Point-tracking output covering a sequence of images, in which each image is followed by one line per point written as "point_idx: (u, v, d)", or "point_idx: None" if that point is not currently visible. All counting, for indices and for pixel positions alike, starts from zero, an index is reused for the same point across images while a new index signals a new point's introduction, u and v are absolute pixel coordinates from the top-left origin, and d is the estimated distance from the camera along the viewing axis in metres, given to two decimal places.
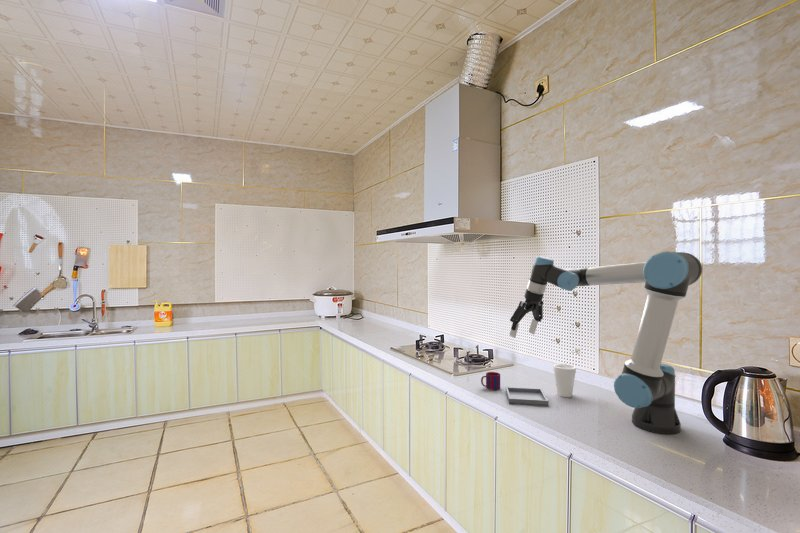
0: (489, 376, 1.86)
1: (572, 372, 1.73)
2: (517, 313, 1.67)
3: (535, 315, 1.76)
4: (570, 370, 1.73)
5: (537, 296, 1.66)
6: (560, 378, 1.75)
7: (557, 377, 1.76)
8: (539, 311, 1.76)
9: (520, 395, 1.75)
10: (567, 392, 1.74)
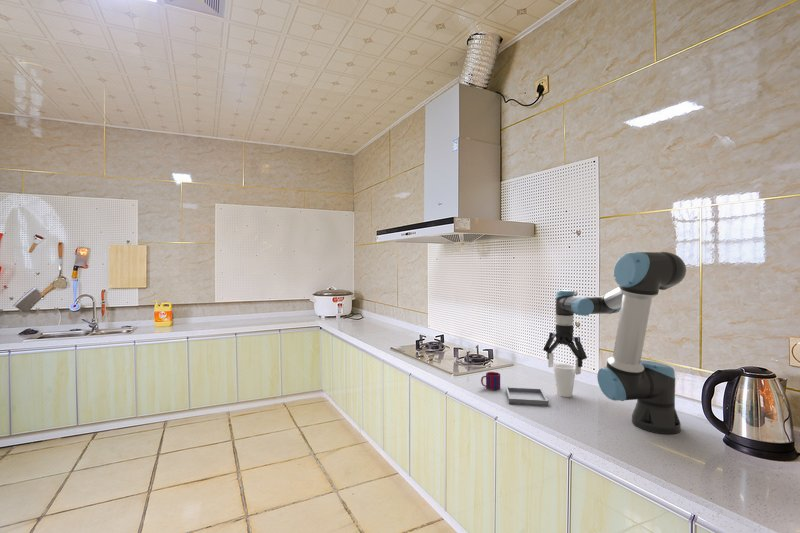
0: (489, 376, 1.86)
1: (572, 372, 1.73)
2: None
3: None
4: (570, 370, 1.73)
5: (556, 326, 1.78)
6: (560, 378, 1.75)
7: (557, 377, 1.76)
8: None
9: (520, 395, 1.75)
10: (567, 392, 1.74)
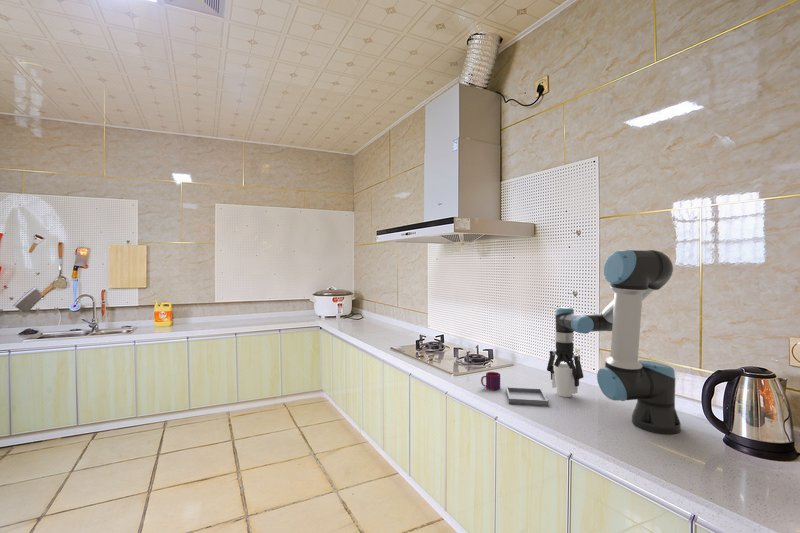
0: (489, 376, 1.86)
1: None
2: None
3: None
4: (570, 370, 1.73)
5: (556, 343, 1.78)
6: (560, 378, 1.75)
7: (557, 377, 1.76)
8: None
9: (520, 395, 1.75)
10: (567, 392, 1.74)
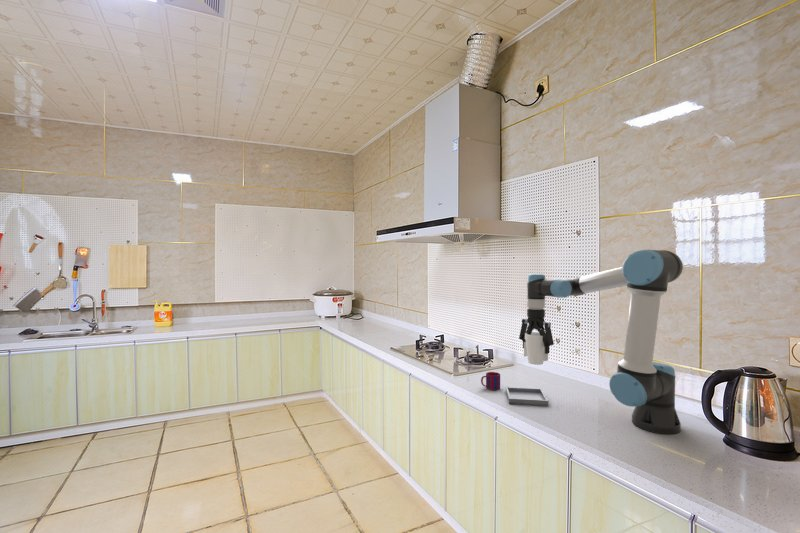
0: (489, 376, 1.86)
1: None
2: None
3: None
4: (540, 337, 1.70)
5: (527, 311, 1.74)
6: (531, 345, 1.72)
7: (528, 344, 1.73)
8: None
9: (520, 395, 1.75)
10: (537, 359, 1.71)
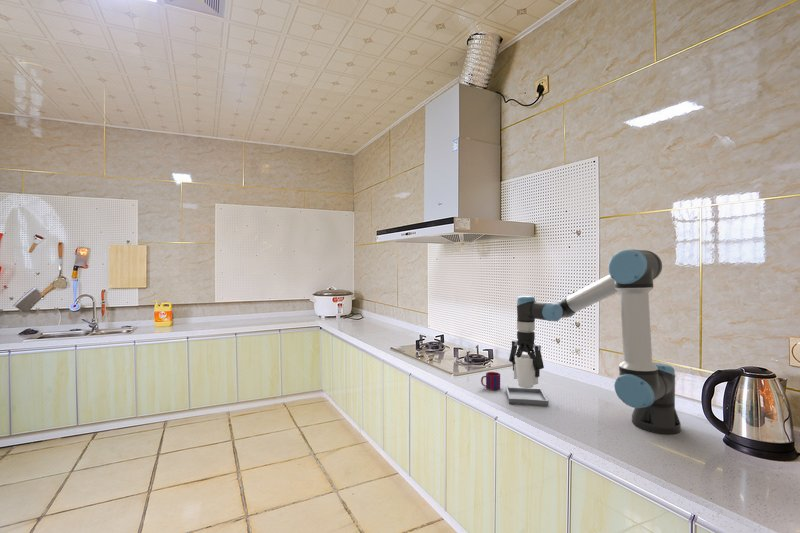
0: (489, 376, 1.86)
1: None
2: None
3: None
4: (530, 360, 1.68)
5: (517, 333, 1.73)
6: (521, 368, 1.70)
7: (518, 368, 1.72)
8: None
9: (520, 395, 1.75)
10: (527, 383, 1.70)
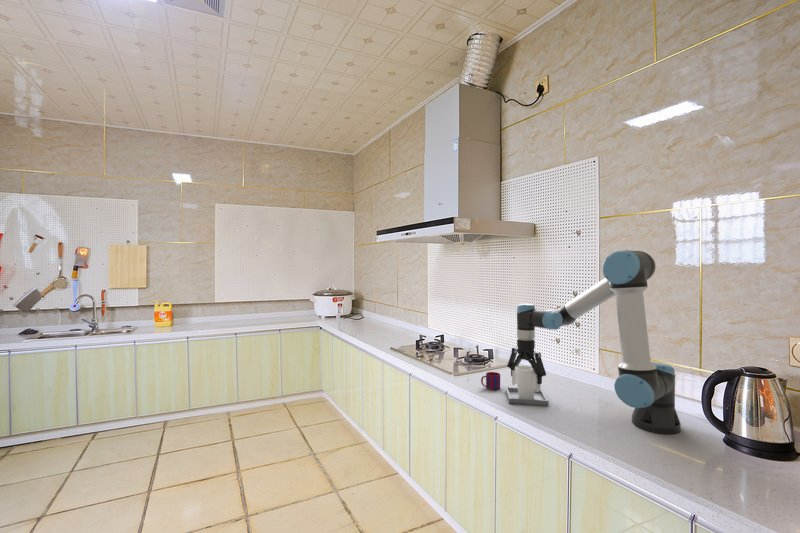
0: (489, 376, 1.86)
1: (533, 373, 1.69)
2: None
3: None
4: (530, 371, 1.68)
5: (517, 341, 1.73)
6: (521, 380, 1.70)
7: (518, 379, 1.71)
8: None
9: None
10: (528, 394, 1.70)
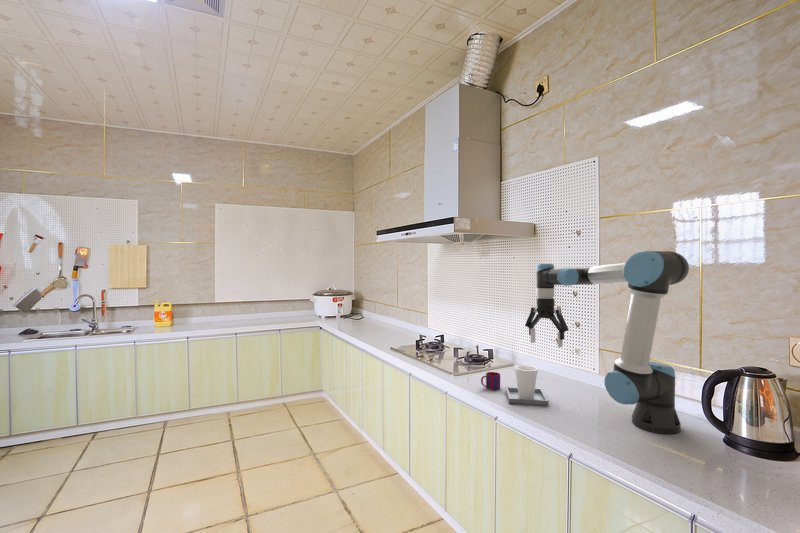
0: (489, 376, 1.86)
1: (533, 373, 1.69)
2: None
3: None
4: (531, 372, 1.68)
5: (537, 300, 1.76)
6: (521, 380, 1.70)
7: (518, 379, 1.71)
8: None
9: None
10: (528, 394, 1.70)
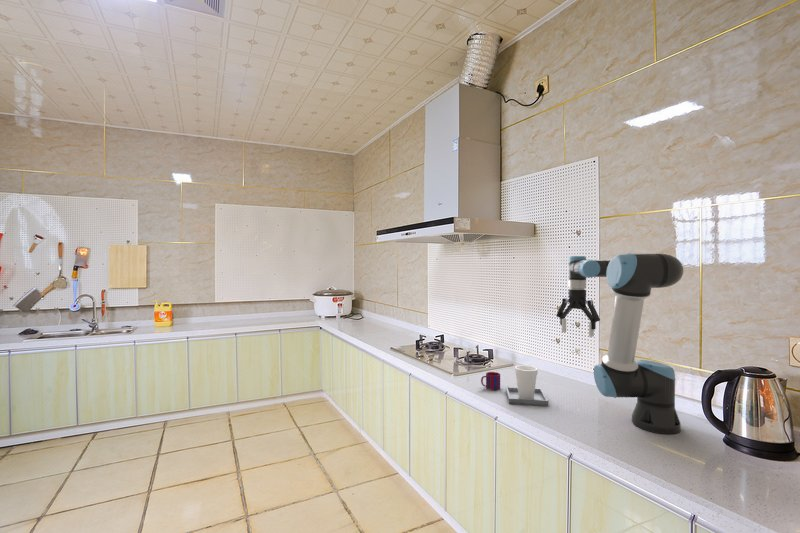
0: (489, 376, 1.86)
1: (533, 373, 1.69)
2: None
3: None
4: (531, 372, 1.68)
5: (569, 291, 1.82)
6: (521, 380, 1.70)
7: (518, 379, 1.71)
8: None
9: None
10: (528, 394, 1.70)
